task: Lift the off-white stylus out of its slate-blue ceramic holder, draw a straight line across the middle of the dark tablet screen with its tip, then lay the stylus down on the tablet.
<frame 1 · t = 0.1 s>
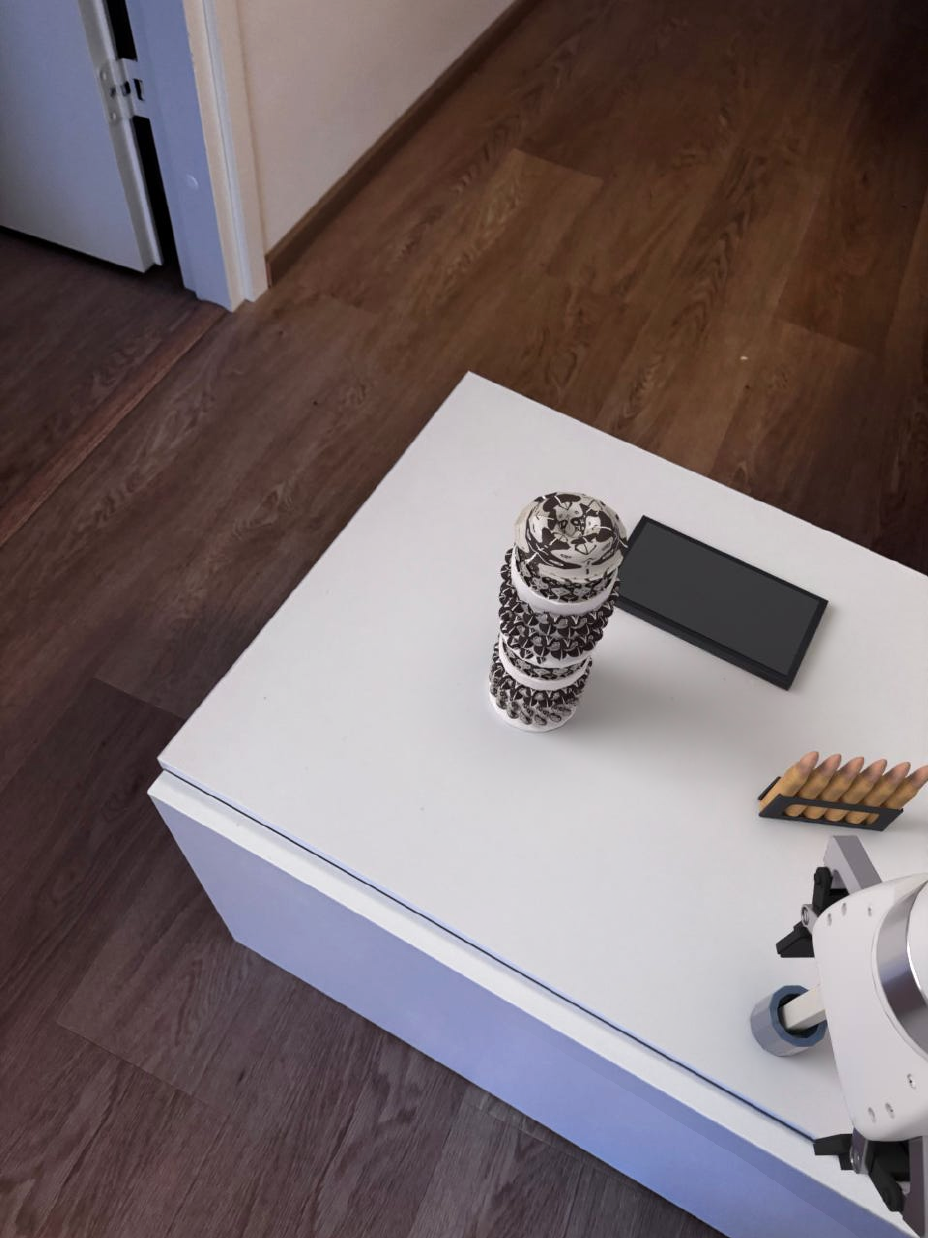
hand: (821, 1044, 52), 24 cm above the table, tool pointing down, fingers open, 9 cm apart
tablet: (710, 601, 95), on the table
decorative candle: (533, 692, 89), on the table
ammunition clip: (817, 816, 84), on the table
stylus: (778, 1026, 74), resting on holder
holder: (776, 1027, 74), on the table
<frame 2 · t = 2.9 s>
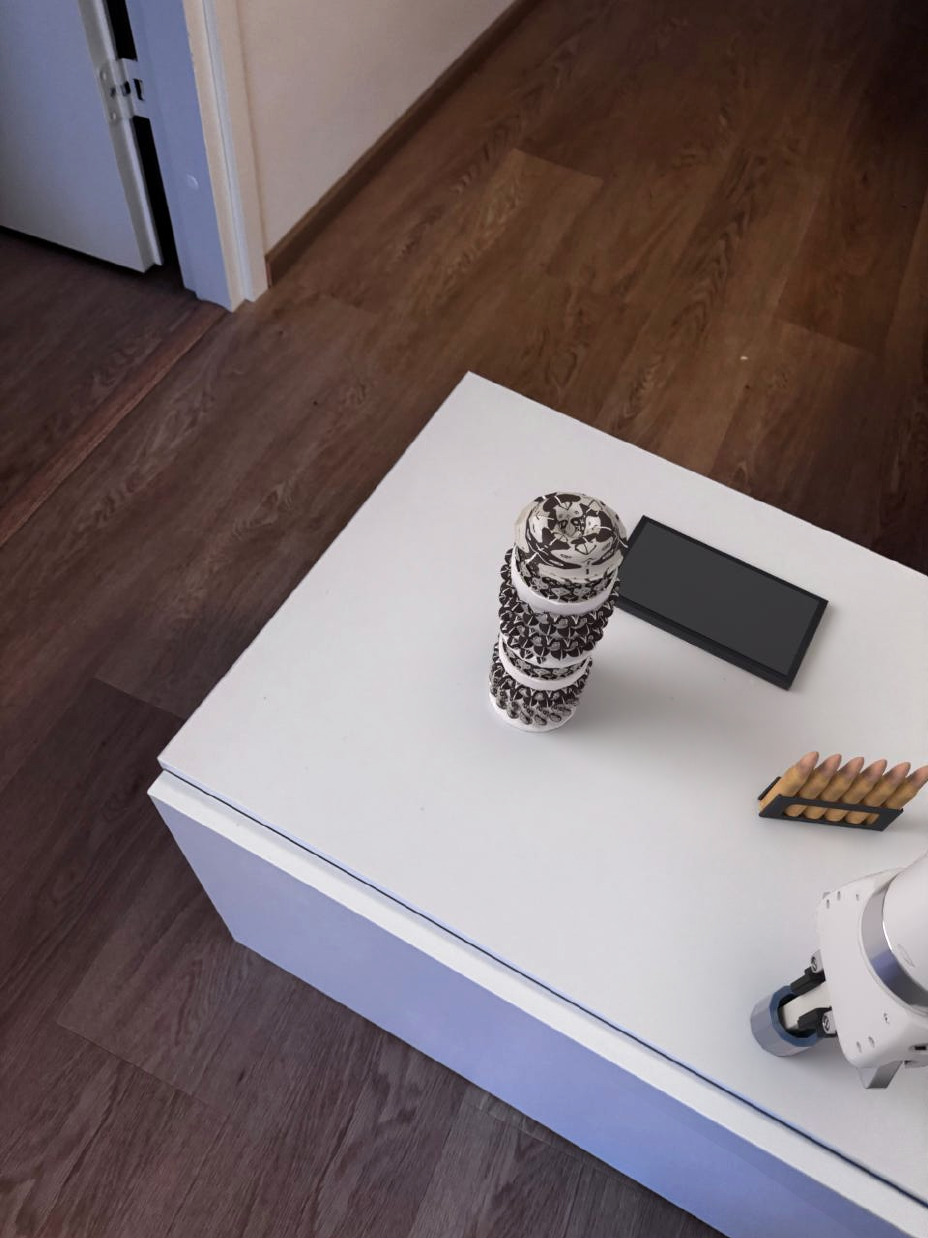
hand: (815, 1006, 67), 9 cm above the table, tool pointing down, fingers closed on stylus, 1 cm apart
stylus: (778, 1026, 74), resting on holder, touching gripper
everything else where it was.
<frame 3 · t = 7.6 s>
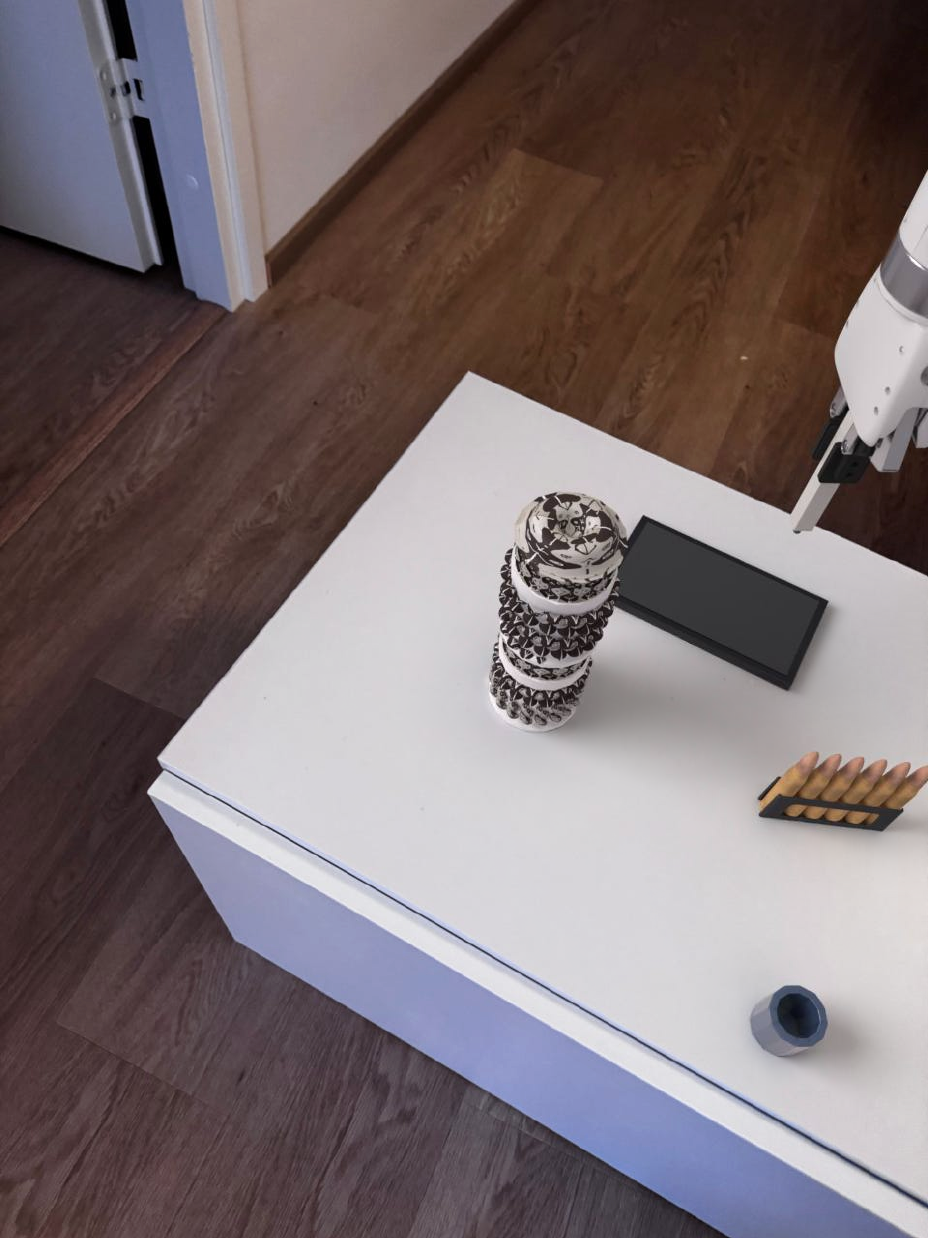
hand: (833, 467, 75), 23 cm above the table, tool pointing down, fingers closed on stylus, 1 cm apart
stylus: (796, 530, 82), point 15 cm above the table, touching gripper
everything else where it was.
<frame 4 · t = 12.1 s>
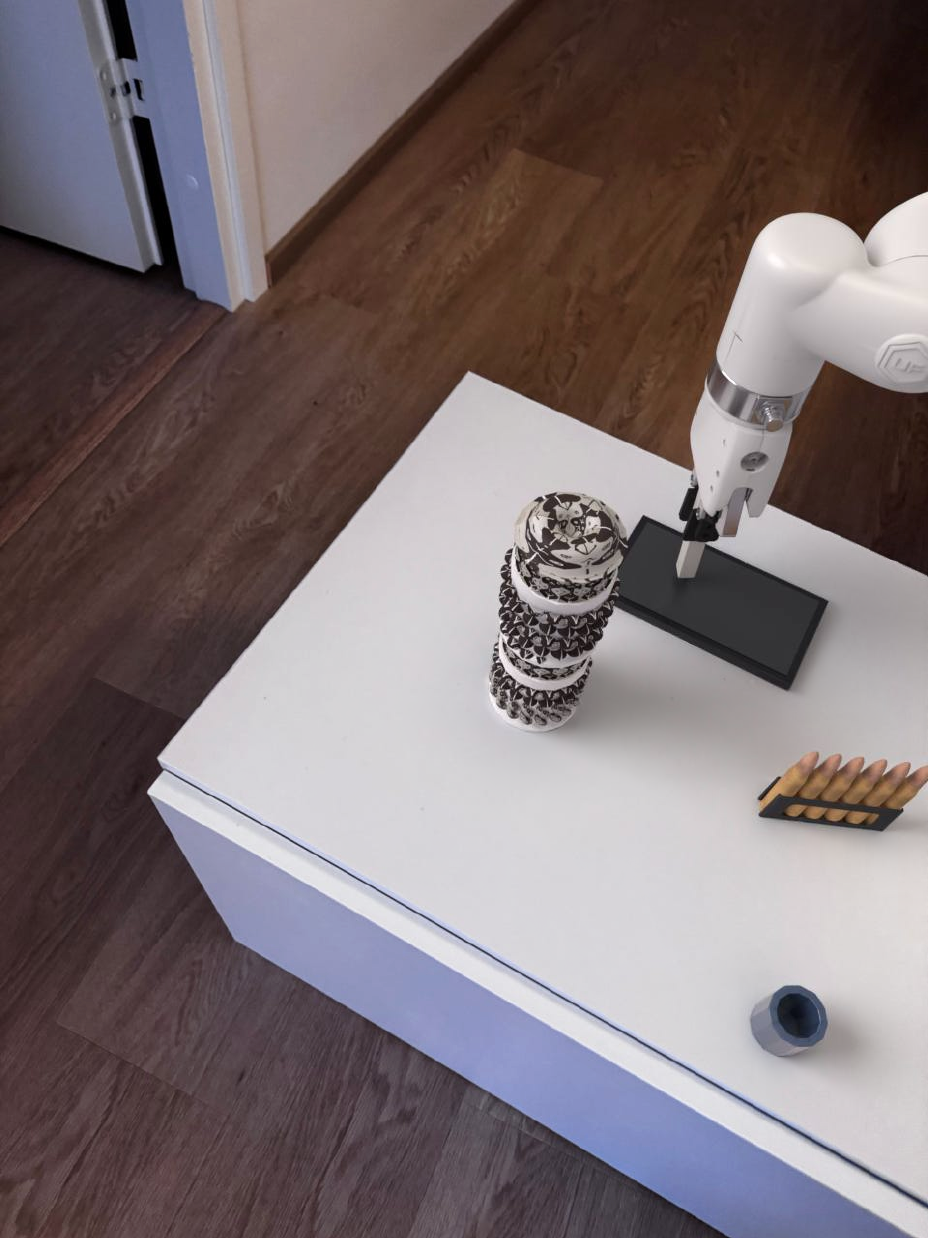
hand: (697, 527, 88), 9 cm above the table, tool pointing down, fingers closed on stylus, 1 cm apart
stylus: (683, 577, 95), point 1 cm above the table, touching gripper, tablet
everything else where it was.
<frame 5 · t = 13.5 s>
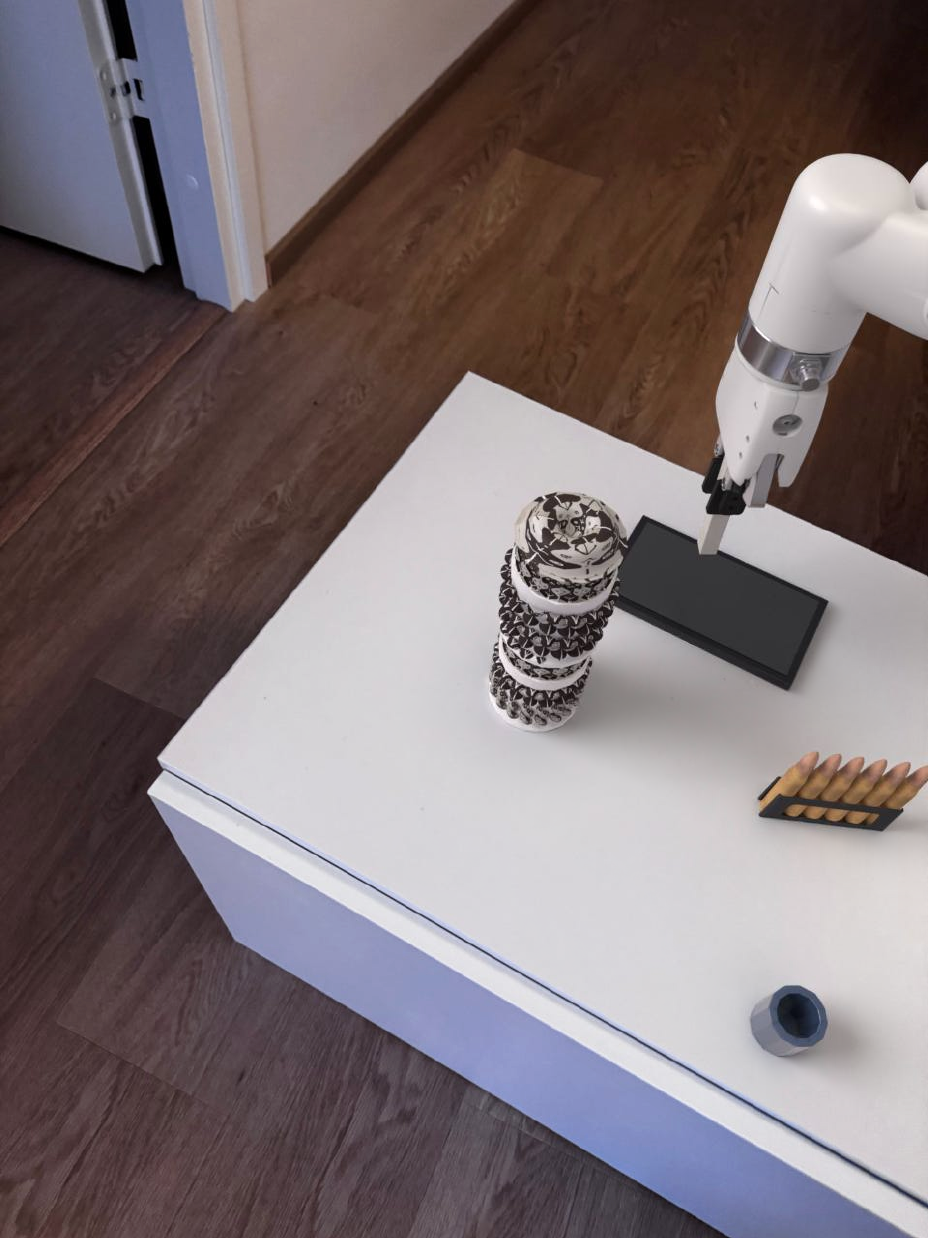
hand: (721, 500, 84), 14 cm above the table, tool pointing down, fingers closed on stylus, 1 cm apart
stylus: (704, 554, 91), point 6 cm above the table, touching gripper
everything else where it was.
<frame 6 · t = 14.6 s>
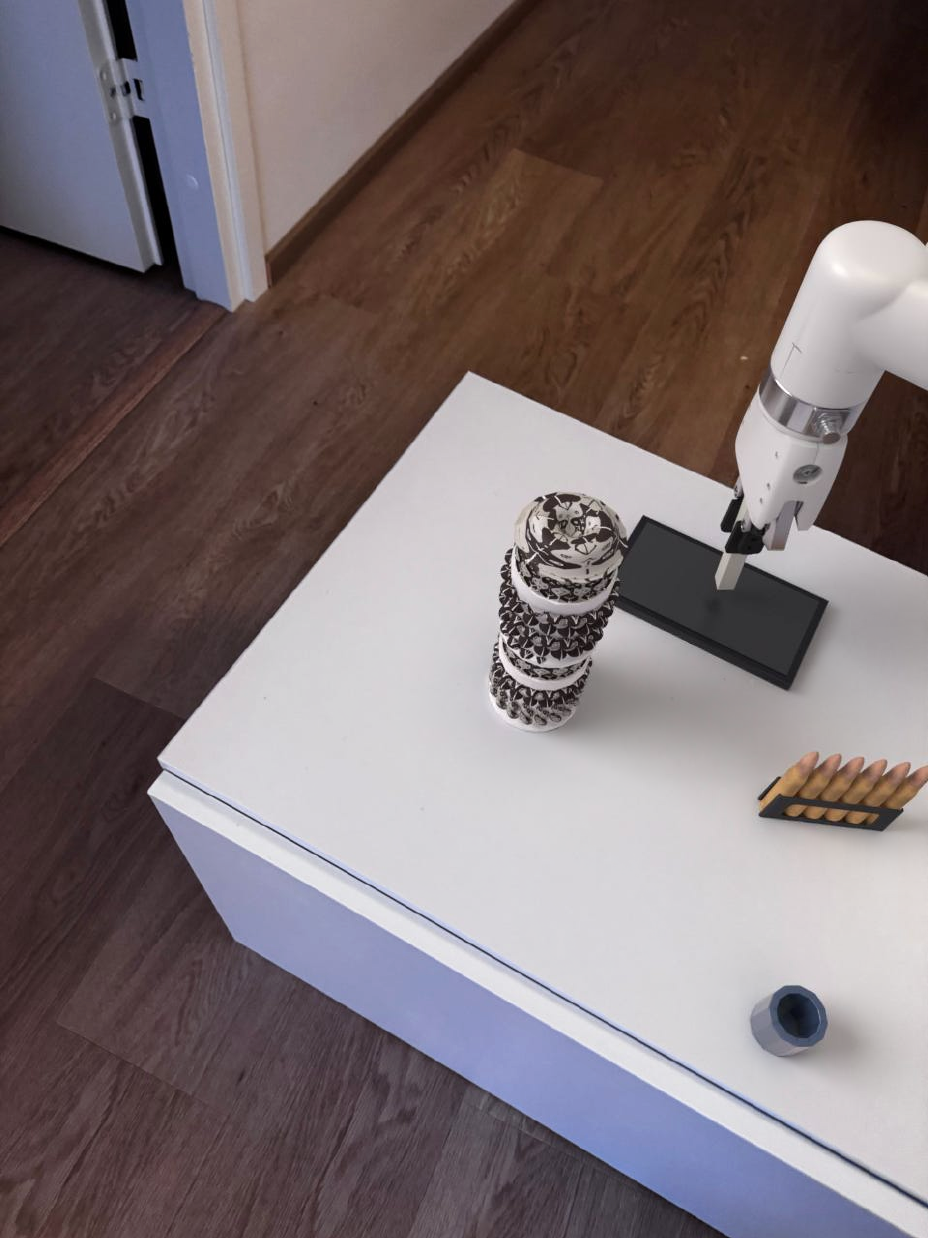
hand: (739, 539, 87), 10 cm above the table, tool pointing down, fingers closed on stylus, 1 cm apart
stylus: (722, 588, 93), point 2 cm above the table, touching gripper
everything else where it was.
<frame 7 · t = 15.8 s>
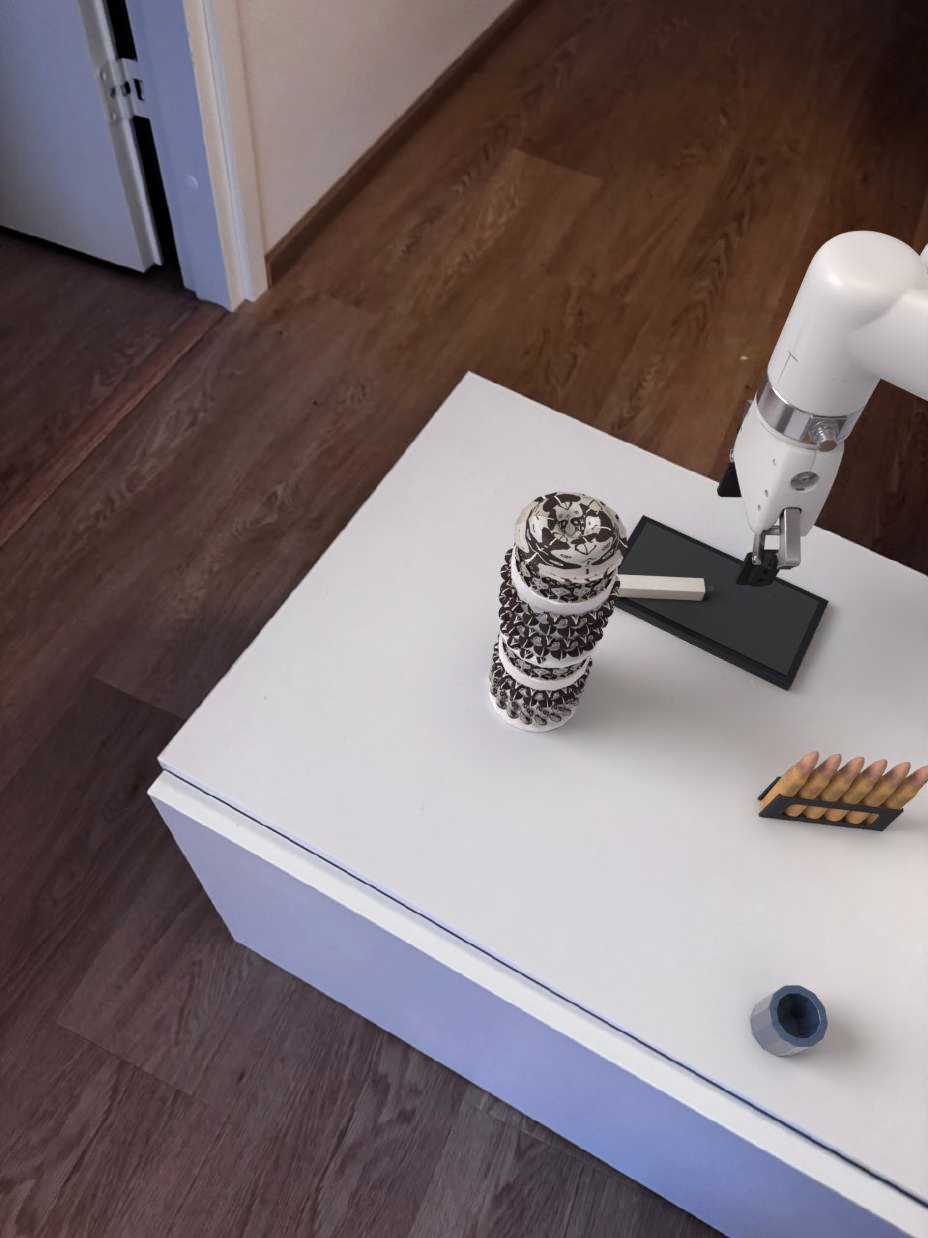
hand: (742, 537, 86), 11 cm above the table, tool pointing down, fingers open, 9 cm apart
stylus: (713, 590, 94), point 2 cm above the table, tilted 90°, touching tablet
everything else where it was.
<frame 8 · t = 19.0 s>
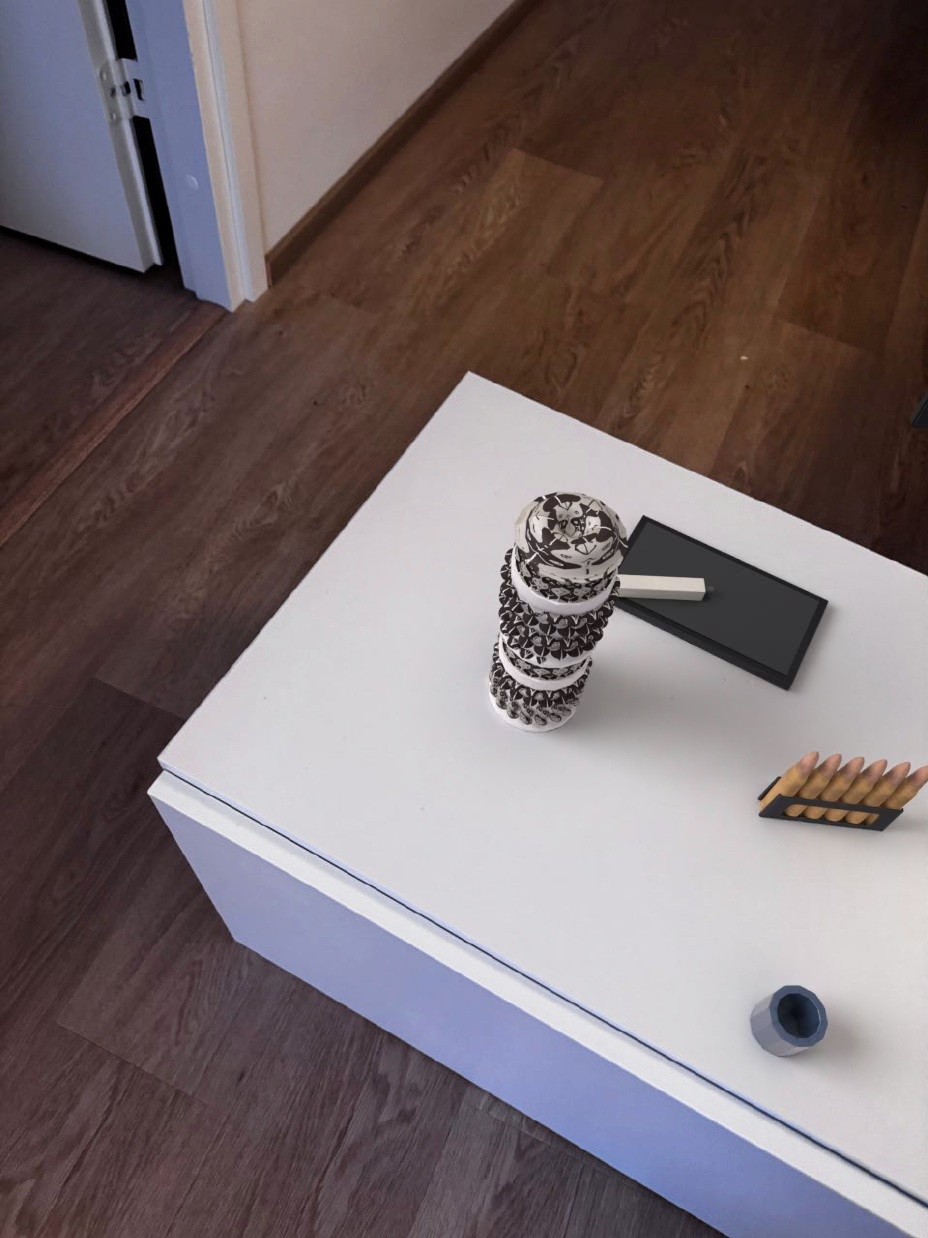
nothing on the table moved.
at the end: stylus moved 39.1 cm from its start; stylus 0.3 cm from the tablet (horizontally); stylus touching tablet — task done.
